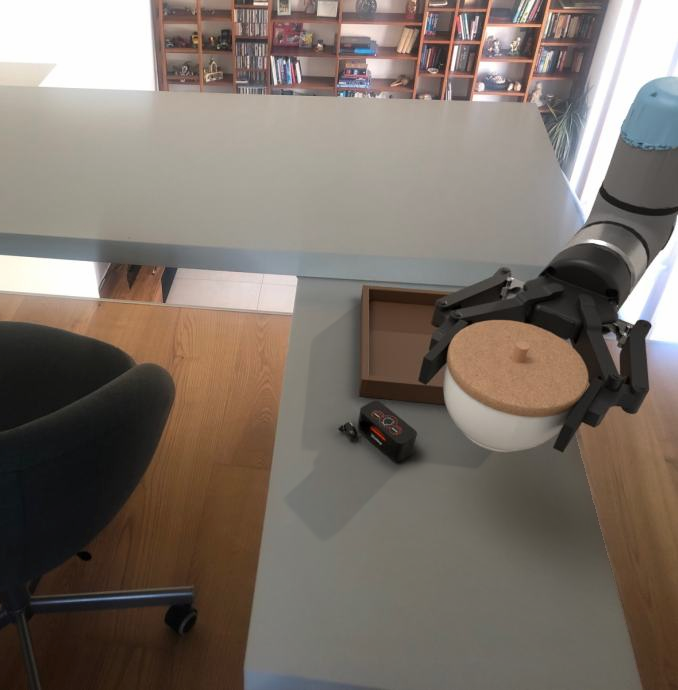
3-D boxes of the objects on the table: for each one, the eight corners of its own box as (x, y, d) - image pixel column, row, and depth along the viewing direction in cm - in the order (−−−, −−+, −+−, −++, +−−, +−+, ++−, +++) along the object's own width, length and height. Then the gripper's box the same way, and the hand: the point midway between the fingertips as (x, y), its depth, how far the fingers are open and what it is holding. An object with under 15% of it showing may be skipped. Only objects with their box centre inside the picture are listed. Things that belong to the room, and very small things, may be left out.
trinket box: (551, 392, 64) (584, 312, 58) (568, 484, 56) (608, 402, 50) (431, 376, 66) (451, 296, 60) (431, 462, 58) (454, 381, 52)
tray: (501, 312, 92) (507, 295, 90) (525, 413, 78) (532, 395, 77) (360, 301, 95) (362, 284, 93) (358, 396, 81) (361, 379, 79)
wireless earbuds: (367, 414, 79) (371, 394, 77) (414, 454, 74) (419, 433, 72) (337, 432, 77) (339, 412, 75) (383, 474, 72) (387, 453, 70)
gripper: (705, 358, 64) (627, 511, 51) (469, 266, 75) (359, 373, 63) (744, 292, 59) (668, 443, 46) (485, 205, 70) (369, 307, 58)
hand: (490, 403), depth 55 cm, fingers closed on trinket box, 11 cm apart
